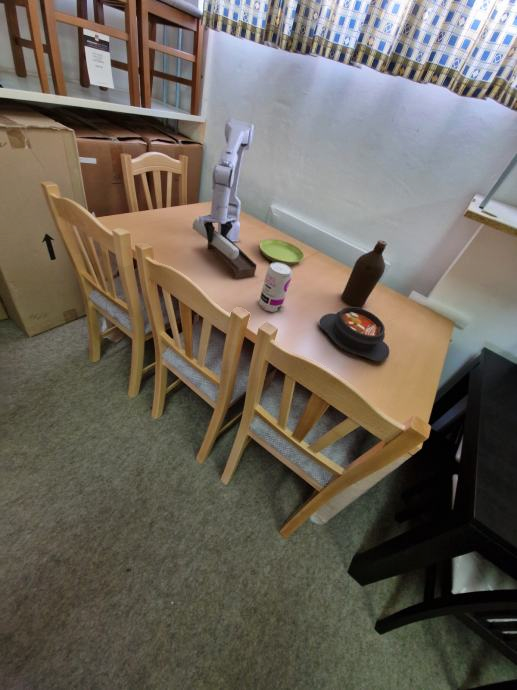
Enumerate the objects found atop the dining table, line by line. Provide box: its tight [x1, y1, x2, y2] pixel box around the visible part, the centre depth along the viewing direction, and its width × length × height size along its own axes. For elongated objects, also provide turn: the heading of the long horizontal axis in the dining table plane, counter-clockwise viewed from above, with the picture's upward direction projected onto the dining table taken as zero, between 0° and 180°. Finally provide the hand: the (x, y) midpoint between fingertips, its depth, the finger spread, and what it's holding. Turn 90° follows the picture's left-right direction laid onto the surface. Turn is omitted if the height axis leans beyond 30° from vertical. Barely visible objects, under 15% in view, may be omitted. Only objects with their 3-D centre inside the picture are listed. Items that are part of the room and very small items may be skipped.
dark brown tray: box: [206, 236, 258, 280], centre depth 118 cm, size 9×24×5 cm, turn 34°
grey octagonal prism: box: [192, 217, 240, 259], centre depth 111 cm, size 5×5×25 cm
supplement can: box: [258, 262, 293, 313], centre depth 98 cm, size 8×8×15 cm
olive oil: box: [340, 239, 388, 309], centre depth 110 cm, size 11×11×25 cm
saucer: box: [259, 238, 305, 266], centre depth 132 cm, size 21×21×3 cm
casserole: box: [318, 306, 390, 362], centre depth 96 cm, size 25×19×8 cm
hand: (215, 241), depth 112 cm, fingers closed on grey octagonal prism, 5 cm apart
